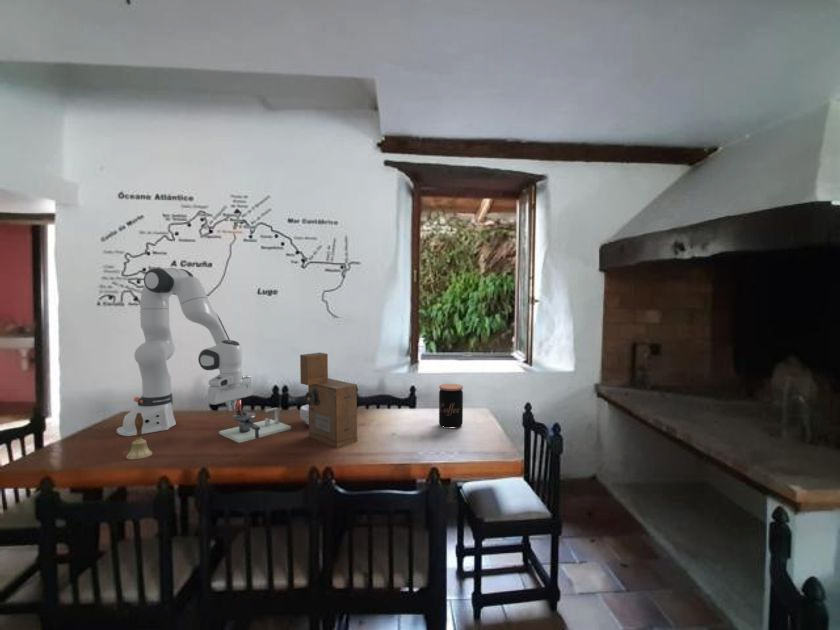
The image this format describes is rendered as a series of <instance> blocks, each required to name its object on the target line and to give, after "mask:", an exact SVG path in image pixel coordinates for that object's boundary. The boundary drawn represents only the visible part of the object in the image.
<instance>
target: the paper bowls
mask: <svg viewBox="0 0 840 630" xmlns="http://www.w3.org/2000/svg"><path fill="white" fill-rule="evenodd" d="M299 408H300V411H299V413H300V419H301V420H302V421H304V422H305V424H306V425H308V426H309V405H308V404H303V405H302V406H301V407H299Z"/></svg>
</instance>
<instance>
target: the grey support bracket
mask: <svg viewBox="0 0 840 630" xmlns="http://www.w3.org/2000/svg"><path fill="white" fill-rule="evenodd" d="M272 412H274V421H275V423H276V424H280V423H281V422H280V421H281V420H280V416H281V415H280V414H281V413H280V407H276V406H275V407H272V408H267V409H264V413H272ZM270 419H271V418H268V417H267V418H264V420H265V426H270Z"/></svg>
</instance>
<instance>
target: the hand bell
mask: <svg viewBox="0 0 840 630" xmlns="http://www.w3.org/2000/svg"><path fill="white" fill-rule="evenodd" d="M135 426H136V429H137V435H135V436H136V438H135V440H133V441H132V443H131V447H130V451H129V452H128V453H127V454H126V459H127V460H132V461H133V460H134V461H135V460H141V459H142V460H143V459H145V458H149V457H151V456H152V455H153V451H152V450H150V449H149V447H148V445H147V440H146V439H143V438H142V437H143V434H142V426H143V418H142V415H141V413H137V415H136V418H135Z"/></svg>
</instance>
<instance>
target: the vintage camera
mask: <svg viewBox="0 0 840 630" xmlns="http://www.w3.org/2000/svg"><path fill="white" fill-rule="evenodd" d="M299 358H300V365H299V366H300V368H299V369H300V374H299V375H300V384H302V385H305V386H308V391H307V392H306V393H305V402H306V405H309V425H308V438H311V439H313V440H315V441H318V442H321V443H323V442H324V443H323V444H327V445H329V446H332V447H335V448H337V449H338V448H341V447H344V446H347V445H350V444H353V443H356V441H357V442H358V422H357V421H358V418H357V417H358V414H357V413H358V407H357V405H358V404H357V401H358V400H357V398H358V395H357V393H358V392H357V389H358V388H357V385H358V384H357V383H351V382H346V381H342V380H338V379H337V380H336V379H332V378H329V377H328V376H329V373H328V372H329V369H328V367H329V366H328V365H329V362H328V361H329V360H328V358H329V357H328V353H325V352H314V353H306V354H305V353H304V354H300V355H299ZM352 442H353V443H352ZM349 443H350V444H349ZM346 444H347V445H346Z"/></svg>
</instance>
